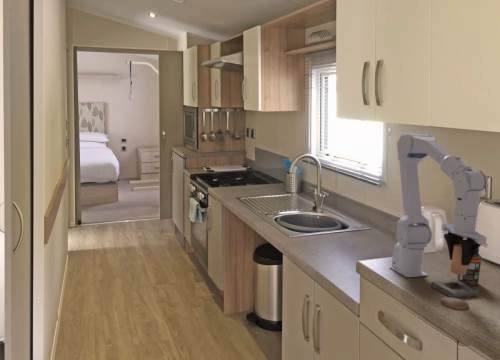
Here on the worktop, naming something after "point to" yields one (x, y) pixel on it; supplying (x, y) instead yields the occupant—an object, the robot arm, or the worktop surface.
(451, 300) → the coaster
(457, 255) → the peg
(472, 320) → the worktop surface
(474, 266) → the supplement bottle
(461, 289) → the eye block
